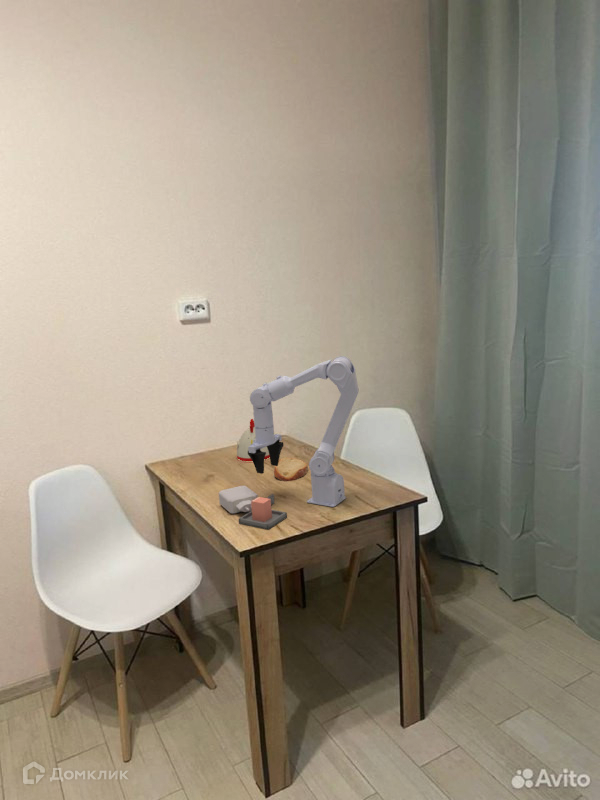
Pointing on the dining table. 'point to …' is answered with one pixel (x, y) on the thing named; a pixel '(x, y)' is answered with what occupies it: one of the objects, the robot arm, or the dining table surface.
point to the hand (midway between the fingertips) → (267, 469)
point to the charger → (237, 499)
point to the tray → (248, 520)
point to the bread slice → (290, 469)
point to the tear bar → (271, 498)
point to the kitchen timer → (248, 444)
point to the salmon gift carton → (261, 509)
